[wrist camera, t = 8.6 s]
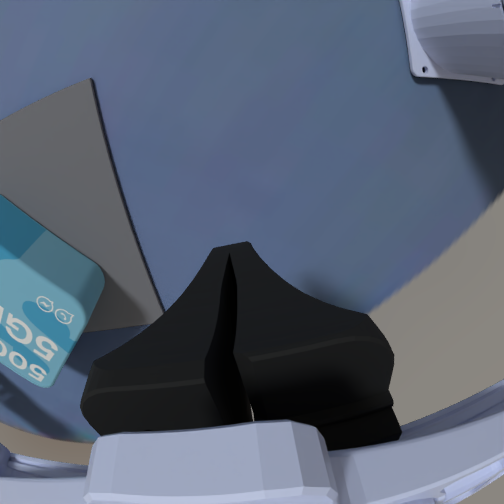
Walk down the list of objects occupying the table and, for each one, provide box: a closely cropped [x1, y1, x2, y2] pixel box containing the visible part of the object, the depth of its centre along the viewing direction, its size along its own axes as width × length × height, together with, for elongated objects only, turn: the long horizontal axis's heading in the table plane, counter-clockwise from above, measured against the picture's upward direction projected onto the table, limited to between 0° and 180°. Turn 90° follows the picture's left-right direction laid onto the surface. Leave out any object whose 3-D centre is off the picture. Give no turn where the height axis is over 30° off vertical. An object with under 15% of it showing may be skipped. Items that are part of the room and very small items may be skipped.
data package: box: [0, 194, 105, 388], centre depth 19 cm, size 12×4×12 cm
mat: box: [0, 78, 164, 333], centre depth 20 cm, size 16×18×1 cm
